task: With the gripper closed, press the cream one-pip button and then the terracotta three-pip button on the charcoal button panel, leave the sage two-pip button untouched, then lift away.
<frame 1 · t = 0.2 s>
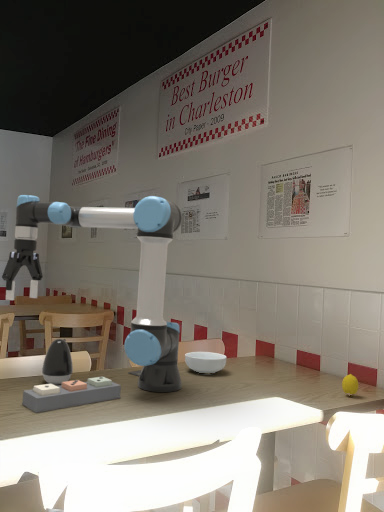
hand: (21, 299, 171), 28 cm above the table, fingers open, 13 cm apart
button three terracotta: (74, 387, 147), point 4 cm above the table, slide at 0.0 cm
lemon: (349, 397, 172), on the table
button two sage: (99, 383, 153), point 4 cm above the table, slide at 0.0 cm
button one cream: (46, 391, 141), point 4 cm above the table, slide at 0.0 cm
smartphone: (147, 373, 190), on the table
cereal bowl: (204, 372, 197), on the table
button panel: (73, 401, 147), on the table
black egg-shaped speaker: (56, 383, 167), on the table
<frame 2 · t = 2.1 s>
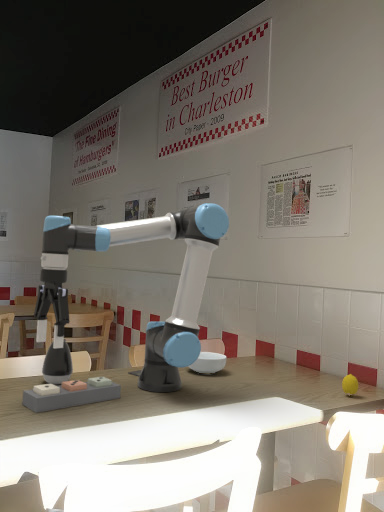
hand: (49, 344, 141), 18 cm above the table, fingers open, 10 cm apart
nothing on the table moved.
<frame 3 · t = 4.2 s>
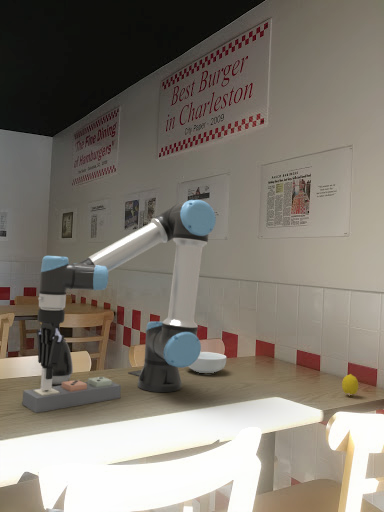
hand: (46, 389, 140), 5 cm above the table, fingers closed
button one cream: (46, 395, 141), point 3 cm above the table, slide at 1.2 cm, touching gripper
everything else where it was.
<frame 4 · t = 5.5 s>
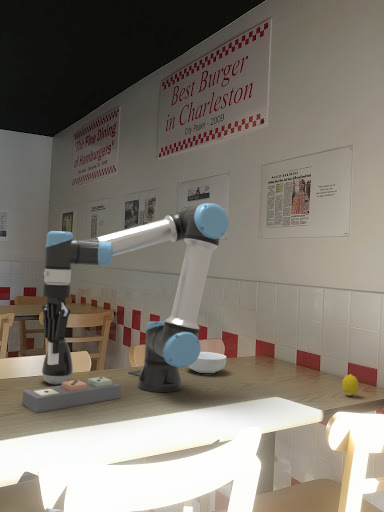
hand: (52, 363, 142), 12 cm above the table, fingers closed
button one cream: (46, 396, 141), point 3 cm above the table, slide at 1.5 cm
everything else where it was.
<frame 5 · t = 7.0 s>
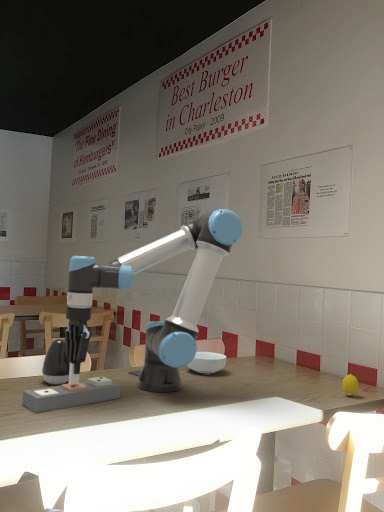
hand: (73, 383, 147), 5 cm above the table, fingers closed
button three terracotta: (74, 389, 147), point 4 cm above the table, slide at 0.8 cm, touching gripper
everything else where it was.
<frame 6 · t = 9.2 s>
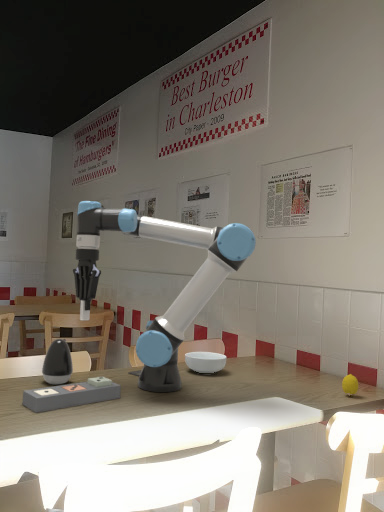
hand: (84, 320, 158), 23 cm above the table, fingers closed
button three terracotta: (73, 392, 147), point 3 cm above the table, slide at 1.5 cm
everything else where it was.
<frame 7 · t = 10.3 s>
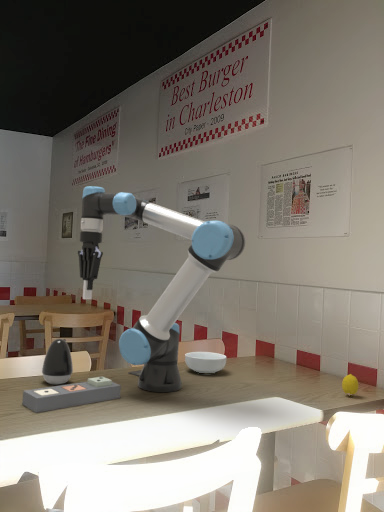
hand: (87, 299, 168), 29 cm above the table, fingers closed
nothing on the table moved.
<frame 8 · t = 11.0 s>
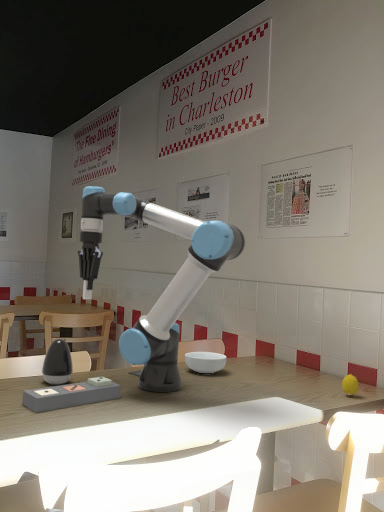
hand: (87, 299, 168), 29 cm above the table, fingers closed
nothing on the table moved.
at the end: button one cream slide at 1.5 cm; button three terracotta slide at 1.5 cm; button two sage slide at 0.0 cm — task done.
